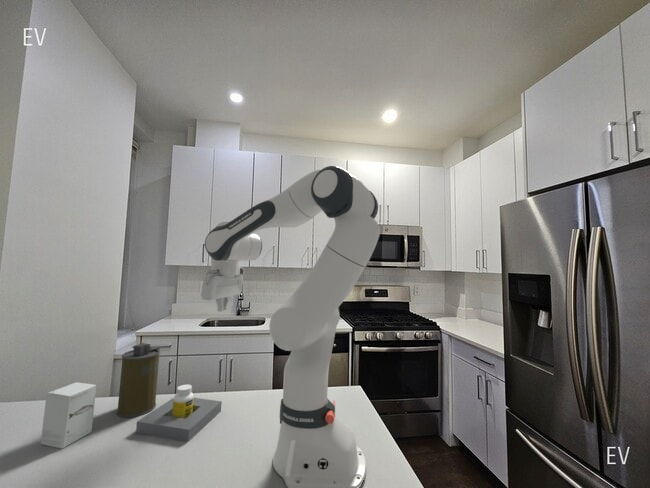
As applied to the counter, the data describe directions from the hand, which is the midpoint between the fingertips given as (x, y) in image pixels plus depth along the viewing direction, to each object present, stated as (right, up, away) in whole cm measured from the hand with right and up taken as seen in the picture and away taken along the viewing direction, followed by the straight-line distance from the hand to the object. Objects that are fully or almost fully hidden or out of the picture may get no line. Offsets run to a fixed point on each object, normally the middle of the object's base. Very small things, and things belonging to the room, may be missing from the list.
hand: (222, 310), depth 94 cm
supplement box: (-33, -29, -21) cm, 48 cm away
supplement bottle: (-8, -30, -11) cm, 33 cm away
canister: (-25, -30, -5) cm, 39 cm away
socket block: (-8, -30, -11) cm, 33 cm away
